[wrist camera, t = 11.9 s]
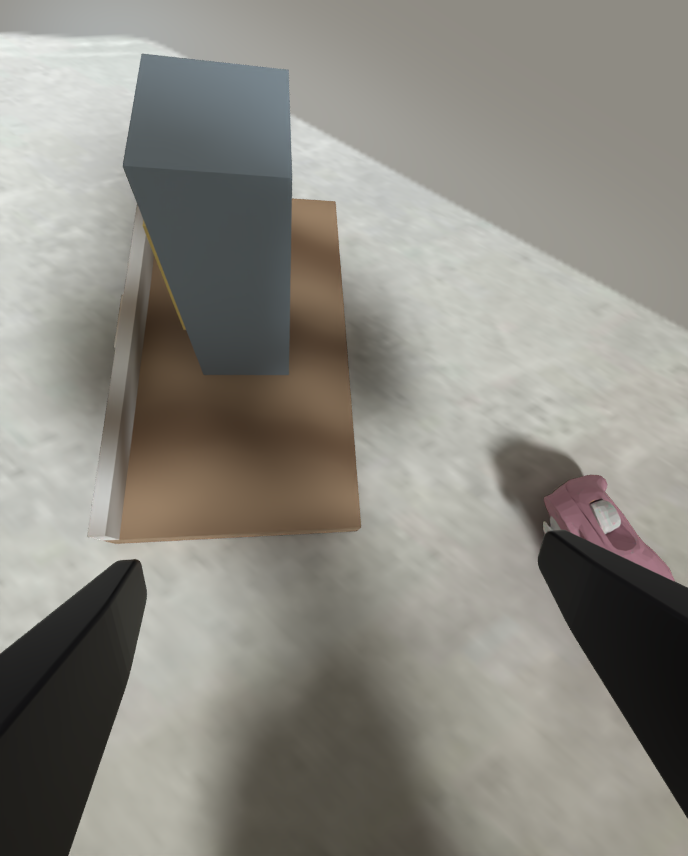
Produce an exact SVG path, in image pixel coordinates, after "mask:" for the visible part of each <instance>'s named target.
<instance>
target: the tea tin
mask: <svg viewBox="0 0 688 856" xmlns="http://www.w3.org/2000/svg"><path fill="white" fill-rule="evenodd" d="M123 168H124V171H125V173H126V176H127V178H128V181H129V184H130V186H131V189H132V191H133V194H134V196H135V199H136V202H137V204H138V207H139V209H140V212H141V215H142V217H143V225H142V226H143V228H144V231H145V234H146V236H147V239H148V241H149V244H150V246H151V249H152V251H153V254H154V256H155V259H156V261H157V264H158V266H159V269H160V271H161V274H162V276H163V279H164V281H165V284H166V287H167V289H168V292H169V294H170V297H171V299H172V302H173V304H174V307H175V309H176V312H177V314H178V317H179V319H180V322H181V324H182V327H183V329H184V330H186V331H187V333H188V336H189V339H190V341H191V344H192V346H193V349H194V352H195V354H196V357H197V359H198V362H199V364H200V367H201V370H202V372H203V375H289V339H290V278H291V218H292V159H291V129H290V100H289V70H285V69H276V68H266V67H258V66H249V65H240V64H230V63H222V62H212V61H204V60H195V59H186V58H177V57H168V56H159V55H150V54H142V55H141V61H140V67H139V73H138V79H137V84H136V90H135V96H134V102H133V108H132V114H131V120H130V126H129V131H128V137H127V143H126V149H125V155H124V161H123Z"/></svg>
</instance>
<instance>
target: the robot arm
mask: <svg viewBox="0 0 688 856" xmlns="http://www.w3.org/2000/svg"><path fill="white" fill-rule="evenodd" d="M538 565H539V569H540V571H541V573H542V575H543V577H544V579H545V581H546V583H547V585H548V587H549V589H550V591H551V593H552V595H553V597H554V599H555V601H556V603H557V605H558V607H559V609H560V611H561V613H562V615H563V617H564V619H565V621H566V622H567V624H568V626H569V628H570V630H571V632H572V633H573V635H574V637H575V638H576V640H577V642H578V643H579V645H580V646H581V648H582V650H583V651H584V653H585V654H586V656H587V658H588V659H589V661H590V663H591V664H592V666H593V667H594V669H595V671H596V672H597V674H598V675H599V677H600V679H601V680H602V682H603V683H604V685H605V687H606V688H607V690H608V691H609V693H610V695H611V696H612V698H613V699H614V701H615V703H616V704H617V706H618V708H619V709H620V711H621V712H622V714H623V716H624V717H625V719H626V720H627V722H628V724H629V725H630V727H631V728H632V730H633V732H634V733H635V735H636V736H637V738H638V740H639V741H640V743H641V744H642V746H643V748H644V749H645V751H646V752H647V754H648V756H649V757H650V759H651V761H652V762H653V764H654V765H655V767H656V769H657V770H658V772H659V773H660V775H661V777H662V778H663V780H664V781H665V783H666V785H667V786H668V788H669V789H670V791H671V793H672V794H673V796H674V797H675V799H676V801H677V802H678V804H679V806H680V807H681V809H682V810H683V812H684V814H685V815H686V817H687V818H688V588H687V587H685V586H683V585H681V584H679V583H677V582H675V581H672V580H670V579H668V578H666V577H664V576H662V575H660V574H658V573H655V572H653V571H651V570H649V569H647V568H645V567H643V566H641V565H639V564H636V563H634V562H632V561H630V560H628V559H626V558H624V557H622V556H620V555H617V554H615V553H613V552H611V551H609V550H607V549H605V548H603V547H600V546H598V545H596V544H594V543H592V542H590V541H588V540H586V539H584V538H581V537H579V536H577V535H575V534H573V533H571V532H569V531H566V530H550V531H547V532H546V533H545V535H544V538H543V541H542V545H541V549H540V552H539V556H538ZM146 599H147V589H146V584H145V579H144V575H143V570H142V565H141V563H140V561H139V560H137V559H133V560H120V561H117V562H115V563H114V564H112V565H111V566H110V567H108V568H107V569H106V570H105V571H103V572H102V573H101V574H100V575H98V576H97V577H96V578H95V579H93V580H92V581H91V582H90V583H88V584H87V585H86V586H85V587H83V588H82V589H81V590H80V591H78V592H77V593H76V594H75V595H73V596H72V597H71V598H70V599H68V600H67V601H66V602H65V603H63V604H62V605H61V606H59V607H58V608H57V609H56V610H54V611H53V612H52V613H51V614H49V615H48V616H47V617H46V618H44V619H43V620H42V621H41V622H39V623H38V624H37V625H36V626H34V627H33V628H32V629H31V630H29V631H28V632H27V633H26V634H24V635H23V636H22V637H21V638H19V639H18V640H17V641H15V642H14V643H13V644H12V645H10V646H9V647H8V648H7V649H5V650H4V651H3V652H2V653H0V856H68V855H69V852H70V849H71V846H72V843H73V840H74V837H75V835H76V832H77V829H78V826H79V823H80V820H81V817H82V814H83V811H84V808H85V805H86V802H87V799H88V797H89V794H90V791H91V788H92V785H93V782H94V779H95V776H96V773H97V770H98V767H99V764H100V761H101V759H102V756H103V753H104V750H105V747H106V744H107V741H108V738H109V735H110V732H111V729H112V726H113V723H114V720H115V718H116V715H117V712H118V709H119V706H120V703H121V700H122V697H123V694H124V691H125V688H126V685H127V682H128V678H129V675H130V671H131V667H132V662H133V658H134V654H135V649H136V645H137V640H138V636H139V631H140V627H141V623H142V618H143V614H144V609H145V605H146Z"/></svg>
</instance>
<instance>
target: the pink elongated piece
mask: <svg viewBox="0 0 688 856" xmlns="http://www.w3.org/2000/svg"><path fill="white" fill-rule="evenodd" d="M606 488H607V482H606V480H605V479H604V478H603V477H602V476H599V475H586V476H582V477H579V478H575V479H571V480H568V481H567V482H566V483H565V484H563V485H562V486H560V487H559V488H558V489H556V490H555V491H554V492H553V494H550V495H548V496H546V497H544V502H545V506H546V508H547V511H548V513H549V515H550V527H549V525H548V524H547V523H546V522H545V521H544V522H543V531H544V533H546V532H547V531H550V530H566V531H569V532H571V533H573V534H575V535H577V536H579V537H581V538H584V539H586V540H588V541H590V542H592V543H594V544H596V545H598V546H600V547H603V548H605V549H607V550H609V551H611V552H613V553H615V554H617V555H620V556H622V557H624V558H626V559H628V560H630V561H632V562H634V563H636V564H639V565H641V566H643V567H645V568H647V569H649V570H651V571H653V572H655V573H658V574H660V575H662V576H664V577H666V578H668V579H670V580H672V581H675V580H674V578H673V576H672V573H671V571H670V569H669V567H668V566H667V565H666V564H665V563H664V562H663V560H662V559H661V558H660V557H659V556H658V555H657V554H656V553H655V552H654V551H653V550H652V549H651V548H650V547H649V546H647V545H646V544H645V543H644V542H643V541H642V540H641V538H640V537H639V536H638V535H637V533H636V532H635V530H634V529H633V528H632V526H631V525H630V523H629V522H628V520H627V519H626V517H625V516H624V514H623V513H622V512H621V511H620V510H619V508H618V507H617V506H616V505H615V503H614V502H613V501H612V500H611V499H610V497H609V496H608V495H607V494H606V492H605V490H606Z"/></svg>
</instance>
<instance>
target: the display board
mask: <svg viewBox="0 0 688 856" xmlns="http://www.w3.org/2000/svg"><path fill="white" fill-rule="evenodd" d="M142 225H143V217H142V215H141V212H140V209H139V207H138V204H137V208H136V215H135V221H134V228H133V235H132V241H131V248H130V254H129V261H128V268H127V274H126V281H125V288H124V294H123V295H121V302H120V309H119V315H118V322H117V328H116V335H115V341H114V348H115V354H114V361H113V368H112V374H111V381H110V388H109V394H108V401H107V408H106V414H105V421H104V427H103V434H102V441H101V447H100V454H99V461H98V467H97V474H96V481H95V487H94V494H93V501H92V507H91V514H90V521H89V527H88V534H87V537H91V538H95V539H99V540H102V541H106V542H110V543H114V544H120V543H139V542H159V541H178V540H197V539H216V538H235V537H255V536H274V535H293V534H312V533H332V532H351V531H357V530H359V529H360V528H361V519H360V507H359V494H358V481H357V469H356V456H355V443H354V431H353V418H352V405H351V393H350V380H349V367H348V354H347V342H346V329H345V316H344V304H343V291H342V278H341V266H340V253H339V240H338V228H337V215H336V202H335V201H321V200H306V199H292V218H291V278H290V339H289V375H203V372H202V370H201V367H200V364H199V362H198V359H197V357H196V354H195V352H194V349H193V346H192V344H191V341H190V339H189V336H188V333H187V331H186V330H184V329H183V327H182V324H181V322H180V319H179V317H178V314H177V312H176V309H175V307H174V304H173V302H172V299H171V297H170V294H169V292H168V289H167V287H166V284H165V281H164V279H163V276H162V274H161V271H160V269H159V266H158V264H157V261H156V259H155V256H154V254H153V251H152V249H151V246H150V244H149V241H148V239H147V236H146V234H145V231H144V228H143V226H142Z"/></svg>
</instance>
